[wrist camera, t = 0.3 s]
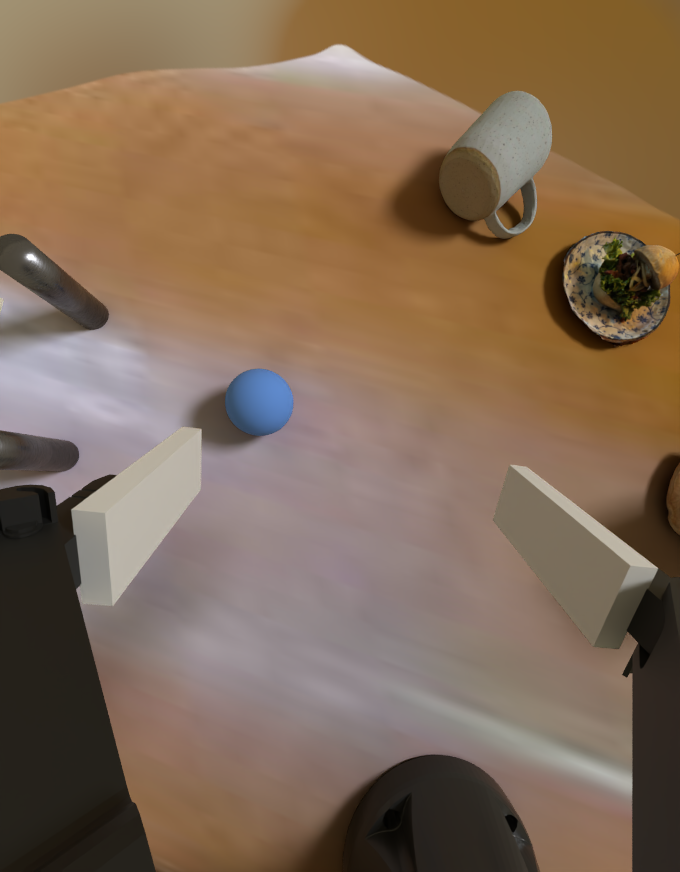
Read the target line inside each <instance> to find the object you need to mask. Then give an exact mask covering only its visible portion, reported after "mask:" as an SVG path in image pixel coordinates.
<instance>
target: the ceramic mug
mask: <svg viewBox="0 0 680 872" xmlns="http://www.w3.org/2000/svg"><path fill="white" fill-rule="evenodd" d="M551 143H552V127H551V123H550V119H549V116H548V113H547V111H546V109H545V107H544V106H543V105H542V104H541V103H540V101H539V100H538V99H537V98H536V97H534V96H532V95H531V94H528V93H526V92H522V91H512V92H509V93H506V94H504V95H502V96H500V97H499V98H497V99H496V100H495V101H494V102H493V103H492V104H491V105H490V106H489V107H488V108H487V109H486V111H485V112H484V113H483V114H482V115H481V116H480V117H479V118H478V119H477V120H476V121H475V122H474V123H473V124H472V126H471V127H470V128H469V129H468V130H467V131H466V132H465V133H464V134H463V135H462V136H461V137H460V138H459V140H458V141H457V142H456V143H455V144H454V145H453V146H452V148H451V149H450V150H449V152H448V154H447V155H446V156H445V158H444V160H443V162H442V165H441V167H440V172H439V186H440V191H441V194H442V196H443V199H444V201H445V203H446V204H447V205H448V207H449V208H450V209H451V210H452V211H453V212H454V213H455V214H456V215H458V216H459V217H461V218H464V219H467V220H471V221H476V220H481V219H484V220H485V222H486V224H487V226H488V228H489V230H491V231H492V233H493V234H495V236H497V237H499V238H502V239H507V238H511V237H513V236H516V235H519V234H521V233H522V232H524V231H525V230H526V229H527V228H528V227H529V226H530V225H531V223H532V222H533V220H534V217H535V214H536V209H537V195H536V187H535V184H534V181H533V176H534V175H535V174H536V173H537V172H538V171H539V170H540V169H541V167H542V166H543V164H544V163H545V161H546V159H547V158H548V155H549V152H550V148H551ZM519 189H521V192H522V196H523V203H524V213H523V218H522V220H521V222H520V223H519V224H518V225H516V226H515V227H514V228H510V229H509V230H507V229H506V228H505V227H504V226H503V225H502V223H501V222H500V221H499V218H498V216H497V215H496V211H497V210H498V209H499V208H500V207H501V206H502V205H504V204H505V202H506V201H507V200H508V199H509V198H510V197H511V196H512V195H513V194H515V193H516V192H517V191H518V190H519Z"/></svg>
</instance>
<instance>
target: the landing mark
mask: <svg viewBox="0 0 680 872" xmlns="http://www.w3.org/2000/svg"><path fill="white" fill-rule="evenodd" d="M3 301H4V299H2V298H0V313H1V309H2V305H3Z"/></svg>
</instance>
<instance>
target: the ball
mask: <svg viewBox="0 0 680 872" xmlns="http://www.w3.org/2000/svg"><path fill="white" fill-rule="evenodd" d="M225 406H226V411H227V414H228V416H229V418H230V420H231V421H232V422H233V424H234V425H235V426H236V427H237V428H239V429H240V430H242V431H243V432H245V433H248V434H251V435H257V436H263V435H269V434H272V433H274V432H276V431H278V430H279V429H281V428H282V427H283V426H284V425H285V424H286V423H287V421H288V420H289V418H290V416H291V414H292V410H293V396H292V392H291V390H290V388H289V386H288V384H287V383H286V381H285V380H284V379H283V378H282V377H280V376H279V375H278V374H276V373H274V372H272V371H269V370H265V369H252V370H248V371H245V372H243V373H241V374H240V375H238V376H237V377H236V378H235V379H234V380H233V381H232V382H231V384H230V385H229V387H228V389H227V392H226V396H225Z"/></svg>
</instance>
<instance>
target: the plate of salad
mask: <svg viewBox="0 0 680 872" xmlns="http://www.w3.org/2000/svg"><path fill="white" fill-rule="evenodd" d="M679 254H680V253H679ZM679 254H677V255H679ZM677 255H675V254H674V253H673V252H672V251H670V250H669V249H667V248H665V247H662V246H658V245H645V244H644V243H643V242H642V241H640V240H638V239H637V238H635V237H633V236H631V235H629V234H626V233H622V232H612V231H602V232H596V233H594V234H591V235H589V236H586V237H584V238H582V239H581V240H580V241H579V242H577V243H576V244H573V245H572V246H571V247H570V248H569V251H568V252H567V254H566V256H565V257H564V270H563V274H562V278H563V285H564V291H565V293H566V295H567V297H568V300H569V303H570V306H571V309H572V311H573V312H574V313H575V315H577V317H578V318H580V319H581V320H582V321H583V322H584V323H585V324H586V325H587V326H588V328H589V329H590V330H591V331H592V332H594V333H596V334H597V335H599V336H600V337H601V338H602V339H603V340H606V341H609V342H616V343H615V344H614V347H616V346H618V345H620V346H622V345H624V344H626V343H628V342H631V343H632V344H633V343H635V342H638V341H640V340H642V339H644V338H646V337H648V335H650V334H651V333H652V332H653V331H655V330H656V329H657V327H658V326H659V325H660V324H661V322H662V321H663V319H664V318H665V316H666V313H667V311H668V308H669V306H670V283H672V281H673V280H674V279H675V277H676V276H677V274H678V271H679V263H678V259H677V257H676V256H677Z"/></svg>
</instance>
